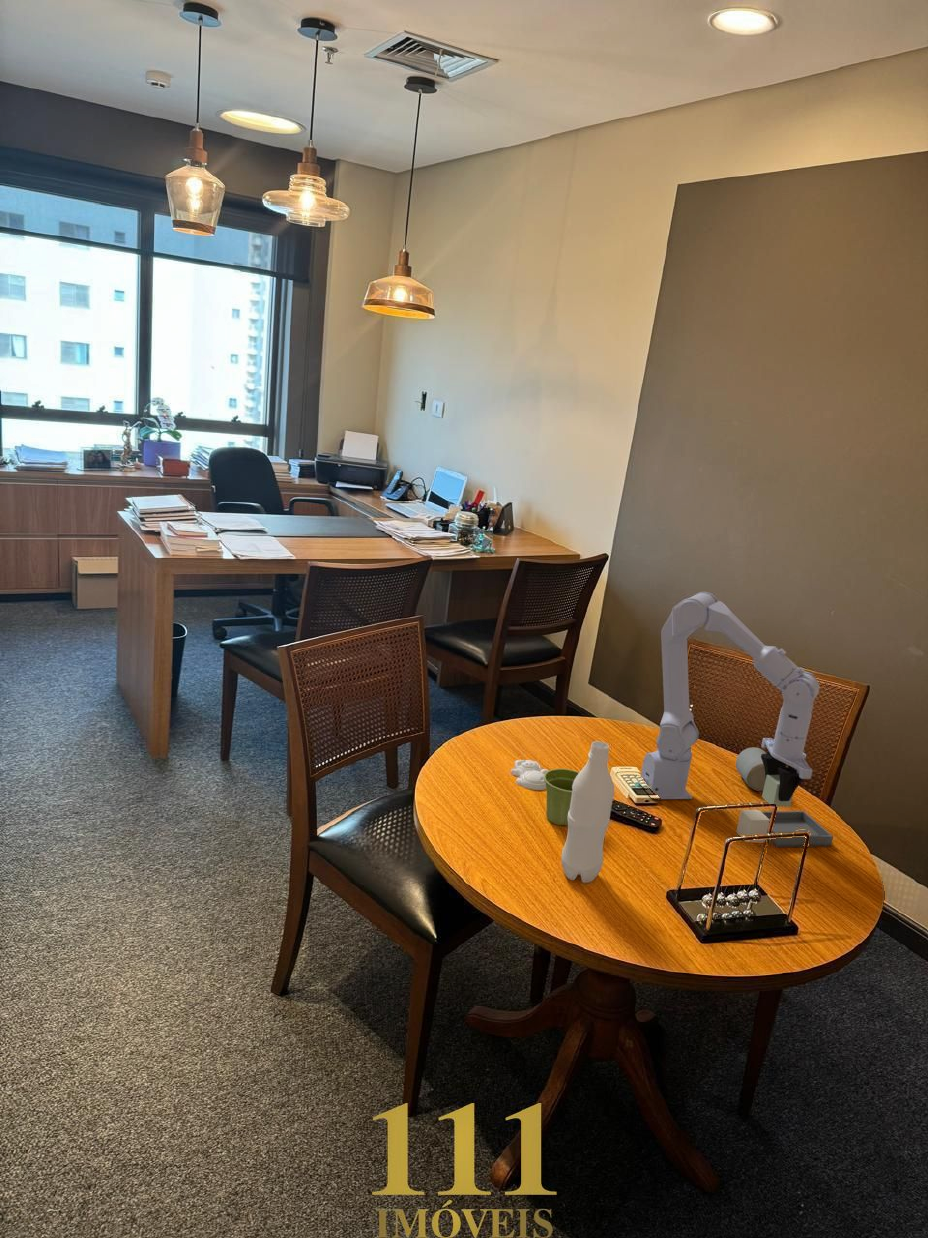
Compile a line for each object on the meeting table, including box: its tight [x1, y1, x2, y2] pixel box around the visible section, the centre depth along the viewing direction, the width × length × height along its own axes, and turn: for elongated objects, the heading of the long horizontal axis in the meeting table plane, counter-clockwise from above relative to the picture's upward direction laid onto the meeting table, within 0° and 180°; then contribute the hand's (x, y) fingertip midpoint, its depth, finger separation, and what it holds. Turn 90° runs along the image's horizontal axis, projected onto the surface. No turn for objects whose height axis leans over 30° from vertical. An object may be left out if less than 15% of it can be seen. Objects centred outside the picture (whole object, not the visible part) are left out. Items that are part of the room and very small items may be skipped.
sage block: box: [761, 775, 794, 808], centre depth 167 cm, size 4×4×5 cm
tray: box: [760, 810, 834, 848], centre depth 167 cm, size 12×10×2 cm
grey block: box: [736, 809, 770, 843], centre depth 164 cm, size 4×4×5 cm
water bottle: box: [560, 740, 615, 884], centre depth 142 cm, size 7×7×25 cm
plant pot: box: [544, 768, 580, 827], centre depth 163 cm, size 9×9×9 cm
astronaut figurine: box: [510, 759, 549, 791], centre depth 180 cm, size 9×12×3 cm
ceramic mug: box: [735, 747, 767, 792], centre depth 187 cm, size 11×8×8 cm
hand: (777, 794), depth 167 cm, fingers closed on sage block, 4 cm apart
